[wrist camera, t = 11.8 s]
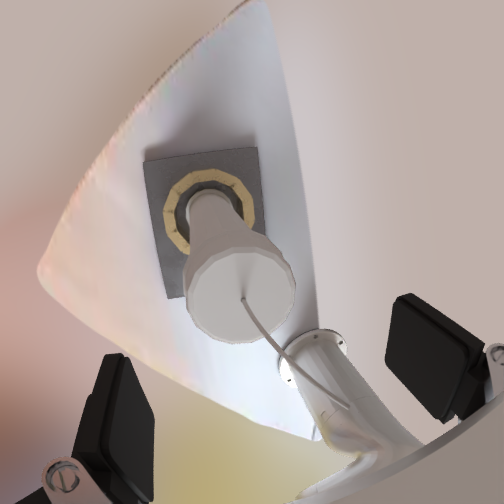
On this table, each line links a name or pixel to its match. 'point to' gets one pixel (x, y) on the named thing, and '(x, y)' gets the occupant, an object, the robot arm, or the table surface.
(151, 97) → the table surface
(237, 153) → the fitting base
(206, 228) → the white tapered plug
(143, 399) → the robot arm
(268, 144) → the table surface
